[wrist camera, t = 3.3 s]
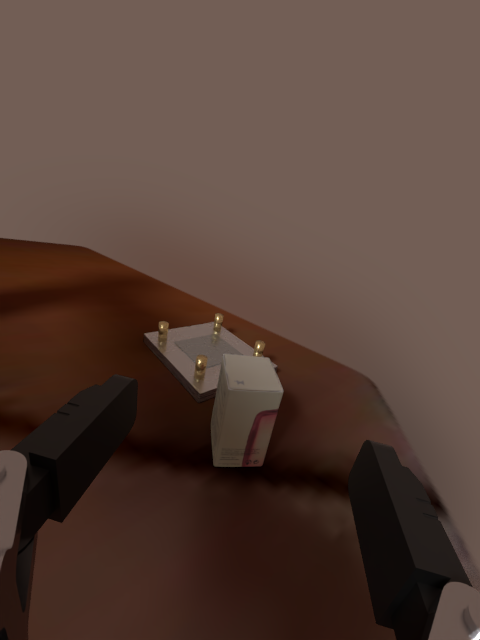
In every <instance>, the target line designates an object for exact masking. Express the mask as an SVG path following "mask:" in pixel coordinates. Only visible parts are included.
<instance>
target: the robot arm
mask: <svg viewBox="0 0 480 640" xmlns="http://www.w3.org/2000/svg"><path fill="white" fill-rule="evenodd" d="M137 390H138V382H137V380H136V379H132V378H129V377H125V376H121V375H117V374H115V375H113V376H112V377H111V378H109V379H108V380H107V381H106V382H105V383H104V384H103V385H102V386H99V385H94V386H92V387H89V388H87V389H85V390H83V391H81V392H79V393H78V394H77V395H76V396H74V397H73V398H72V399H71V400H70V401H69V402H68V403H67V404H65V405H64V406H63V407H61V408H60V409H59V410H58V411H57V413H54V414H53V415H52V416H51V417H50V418H48V419H47V420H46V421H45V422H44V423H42V424H41V425H40V426H39V427H38V428H37V429H35V430H34V431H33V432H32V433H31V434H29V435H28V436H27V437H26V438H25V439H23V440H22V441H21V442H20V443H19V444H18V445H16V446H15V447H14V448H13V449H11V450H5V451H0V640H28V619H29V609H30V600H31V591H32V582H33V573H34V564H35V555H36V546H37V537H38V532H37V531H38V530H39V529H40V528H41V526H42V525H43V524H44V523H45V521H46V520H47V519H51V520H54V521H58V522H61V523H62V522H63V521H64V519H65V518H66V517H67V515H68V514H69V513H70V511H71V510H72V509H73V507H74V506H75V504H76V503H77V502H78V500H79V499H80V498H81V496H82V495H83V494H84V492H85V491H86V490H87V488H88V487H89V486H90V484H91V483H92V482H93V480H94V479H95V477H96V476H97V475H98V473H99V472H100V471H101V469H102V468H103V467H104V465H105V464H106V463H107V461H108V460H109V459H110V457H111V456H112V455H113V453H114V452H115V450H116V449H117V448H118V446H119V445H120V444H121V442H122V441H123V440H124V438H125V437H126V436H127V434H128V433H129V432H130V430H131V428H132V426H133V424H134V421H135V418H136V411H137ZM348 491H349V497H350V501H351V506H352V511H353V516H354V520H355V525H356V530H357V535H358V539H359V544H360V549H361V554H362V558H363V563H364V568H365V573H366V577H367V582H368V587H369V592H370V596H371V601H372V606H373V611H374V615H375V620H376V624H378V625H381V626H384V627H388V628H391V629H394V631H395V635H396V639H397V640H480V592H479V591H477V590H476V589H474V588H473V587H472V585H471V583H470V581H469V579H468V577H467V575H466V573H465V571H464V569H463V567H462V565H461V563H460V561H459V559H458V557H457V554H456V552H455V550H454V548H453V546H452V544H451V542H450V540H449V538H448V536H447V534H446V532H445V530H444V528H443V526H442V524H441V522H440V521H438V516H437V514H436V512H435V510H434V507H433V506H432V505H431V504H430V503H431V501H430V499H429V497H428V495H427V493H426V491H425V489H424V487H423V485H422V484H421V482H420V481H419V480H418V479H417V478H416V476H415V475H414V474H413V473H412V472H411V471H410V469H409V468H407V467H403V466H402V465H401V463H400V461H399V459H398V456H397V454H396V452H395V450H394V448H393V447H392V446H389V445H385V444H381V443H378V442H374V441H370V440H366V441H365V442H364V443H363V445H362V448H361V450H360V452H359V454H358V456H357V459H356V461H355V463H354V465H353V467H352V470H351V472H350V475H349V481H348Z"/></svg>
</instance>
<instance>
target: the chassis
mask: <svg viewBox="0 0 480 640" xmlns="http://www.w3.org/2000/svg"><path fill="white" fill-rule="evenodd" d="M222 321H223V315H222V314H219V313H217V314H215V321H214V322H212V323H206V324H200V325H193V326H187V327H181V328H175V329H169V330H168V325H169V323H168V322H166V321H161V322H159V330H158V331H157V332H150V333H144V337H143V342H144V343H145V344H146V345H147V346H148V347H149V348H150V349H151V351H152V352H153V353H154V354H155V355H156V356H157V357H158V358H159V360H160V361H161V362H162V363H163V364H164V365H165V366H166V367H167V368H168V370H169V371H170V372H171V373H172V374H173V375H174V376H175V377H176V378H177V380H178V381H179V382H180V383H181V384H182V385H183V386H184V387H185V388H186V390H187V391H188V392H189V393H190V394H191V395H192V396H193V397H194V399H195V400H196V401H197V402H198V403H200V402H203V401H205V400H208V399H211V398H213V397H216V391H217V385H218V379H219V373H220V368H221V362H222V357H223V354H235V355H245V356H255V357H264V356H263V355H262V354H263V350H264V346H265V342H263V341H260V340H258V341H256V344H255V348H254V349H253V348H251V347H250V346H249V345H247V344H246V343H244V342H243V341H242V340H240V339H239V338H237V337H236V336H234V335H233V334H232V333H230V332H229V331H227V330H226V329H225V328H223V327H222ZM271 363H272V362H271ZM272 365H273V367H274V369H275V371H277V367H278V366H277V365H275V364H274V363H272Z"/></svg>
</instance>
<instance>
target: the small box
mask: <svg viewBox="0 0 480 640" xmlns="http://www.w3.org/2000/svg"><path fill="white" fill-rule="evenodd" d="M282 395H283V388H282V386H281V383H280V381H279V378H278V376H277V374H276V371H275V369H274V367H273V365H272V363H271V361H270V359H269V358H267V357H255V356H245V355H235V354H223V357H222V362H221V368H220V373H219V379H218V385H217V391H216V397H215V402H214V408H213V413H212V419H211V439H212V453H213V465H214V466H215V467H255V466H262V465H263V462H264V458H265V455H266V451H267V448H268V444H269V441H270V437H271V433H272V430H273V426H274V423H275V420H276V416H277V413H278V409H279V406H280V402H281V399H282Z"/></svg>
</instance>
